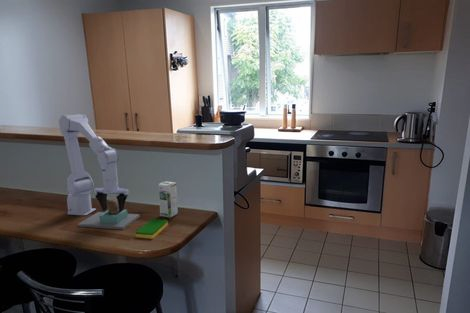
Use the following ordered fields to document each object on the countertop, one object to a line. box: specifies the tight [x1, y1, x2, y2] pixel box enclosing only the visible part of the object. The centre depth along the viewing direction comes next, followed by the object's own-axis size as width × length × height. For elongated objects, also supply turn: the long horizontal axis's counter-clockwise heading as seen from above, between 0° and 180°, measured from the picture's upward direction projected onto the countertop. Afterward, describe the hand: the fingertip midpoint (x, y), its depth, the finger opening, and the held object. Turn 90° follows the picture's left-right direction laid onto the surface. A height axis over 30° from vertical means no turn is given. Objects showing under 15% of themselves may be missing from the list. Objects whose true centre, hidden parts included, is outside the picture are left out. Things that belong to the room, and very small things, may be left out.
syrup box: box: [158, 180, 179, 218], centre depth 149 cm, size 6×6×14 cm
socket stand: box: [77, 208, 141, 230], centre depth 144 cm, size 20×14×4 cm
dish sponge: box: [135, 218, 169, 239], centre depth 134 cm, size 7×14×2 cm, turn 167°
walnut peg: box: [107, 198, 119, 215], centre depth 143 cm, size 4×4×8 cm
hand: (113, 210), depth 143 cm, fingers open, 7 cm apart
